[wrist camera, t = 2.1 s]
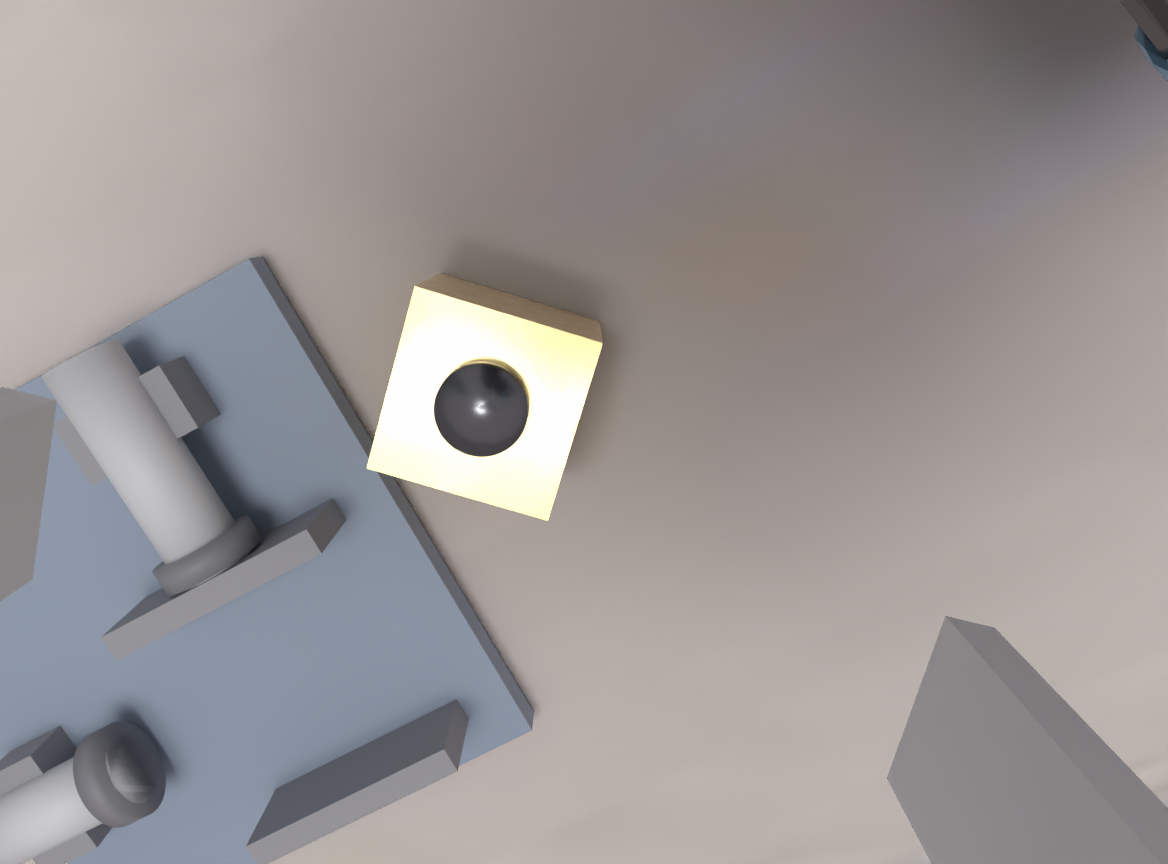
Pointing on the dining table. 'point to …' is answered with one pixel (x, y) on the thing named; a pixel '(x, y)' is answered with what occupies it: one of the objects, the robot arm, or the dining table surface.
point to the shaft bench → (226, 606)
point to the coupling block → (485, 395)
